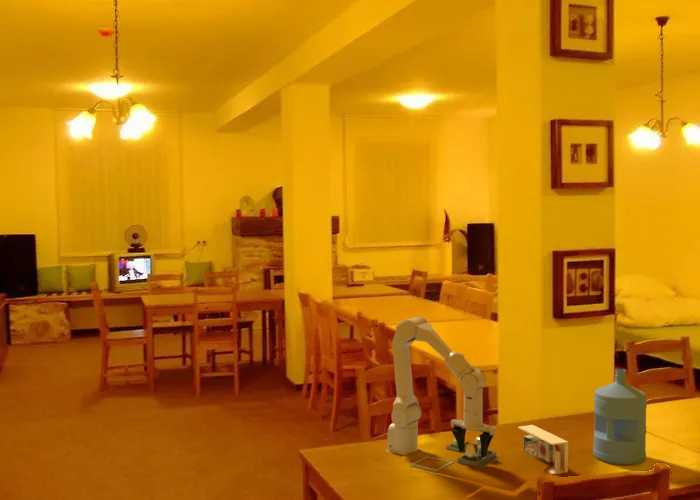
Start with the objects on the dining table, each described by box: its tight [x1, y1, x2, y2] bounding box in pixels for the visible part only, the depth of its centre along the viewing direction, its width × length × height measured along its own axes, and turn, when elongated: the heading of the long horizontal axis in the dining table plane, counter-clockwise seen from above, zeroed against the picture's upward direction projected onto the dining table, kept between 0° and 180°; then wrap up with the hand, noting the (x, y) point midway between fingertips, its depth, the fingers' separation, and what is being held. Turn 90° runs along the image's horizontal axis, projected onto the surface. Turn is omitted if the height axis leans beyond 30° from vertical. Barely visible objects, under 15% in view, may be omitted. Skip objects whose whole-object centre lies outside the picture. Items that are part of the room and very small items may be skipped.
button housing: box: [445, 442, 465, 453], centre depth 241 cm, size 6×6×2 cm
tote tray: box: [410, 455, 454, 474], centre depth 226 cm, size 9×9×1 cm
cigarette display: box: [517, 424, 569, 475], centre depth 229 cm, size 20×6×9 cm, turn 20°
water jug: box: [592, 368, 648, 466], centre depth 234 cm, size 16×16×28 cm
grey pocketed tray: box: [452, 450, 502, 469], centre depth 230 cm, size 10×13×3 cm
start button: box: [452, 438, 458, 448], centre depth 241 cm, size 4×4×3 cm
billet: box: [464, 440, 479, 462], centre depth 227 cm, size 4×4×6 cm
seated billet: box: [475, 435, 490, 456], centre depth 232 cm, size 4×4×6 cm
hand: (472, 453), depth 227 cm, fingers open, 7 cm apart
